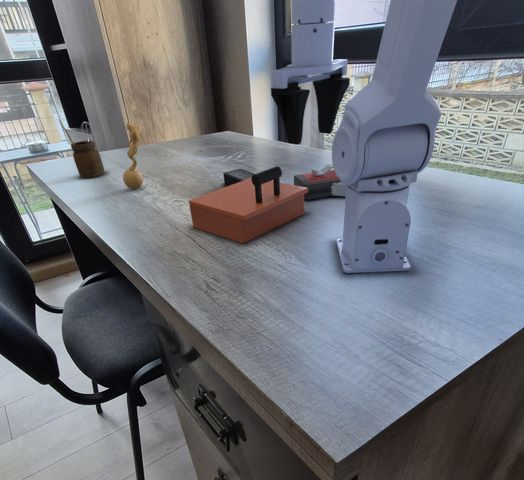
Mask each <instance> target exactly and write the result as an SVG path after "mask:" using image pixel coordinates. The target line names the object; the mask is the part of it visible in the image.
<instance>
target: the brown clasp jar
mask: <svg viewBox="0 0 524 480" xmlns="http://www.w3.org/2000/svg"><path fill="white" fill-rule="evenodd" d="M58 122H59V123H60V125H61V127H62V128H63V131H64V132H65V133H66V135H67V137H68V139H69V140H70V142H71V143H72V144H70V145H71V150H72V151H73V153H72V156H73V161H74V163H75V166H76V169H77V172H78V175H79V177H80V178H81V179H82V178H83V179H91V178H97V177H100V176H103V175H104V174H105V168H104V164H103V161H102V157H101V154H100V152H99V150H98V149H97V148H96V147H97V146H96V144H95V141H93V138H94V137H90V140H89V136H86V137H87V140H86V137H85V131H84V124H85V126H89V130H90V136H93V133H94V132H93V130H92V128H93V126H92V125H91V124H90V122H88V121H83V122H82V124H81V128H80V129H81V130H80V131H81V132H82V134H81V136H82V137H83V140H81V141H76V142H74V141H73V139H72V138H71V136H70V134H69V133H68V130H67V129H66V128H65V126H64V125H63V122H62V121H61V120H60V119H58ZM87 124H88V125H87ZM85 130H86V133H89V131H88V128H85Z"/></svg>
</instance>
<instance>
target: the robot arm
mask: <svg viewBox="0 0 524 480" xmlns="http://www.w3.org/2000/svg"><path fill="white" fill-rule="evenodd" d="M457 2H458V0H390V1H389V6H388V8H387V9H388V10H387V13H386V18H385V23H384V27H383V30H382V35H381V39H380V43H379V47H378V52H377V55H376V56H377V57H376V61H375V65H374V69H373V74H372V78H371V79H370V81H369V82H368V83H367V84H366V85H365V86H364V87H362V89H360V90H359V91H358V92H357V93H355V94H354V96H353V97H352V98H350V99H349V101H347V102H346V103H345V106H344V111H343V114H342V118H341V121H340V124H339V127H337V130H336V132H335V134H334V136H333V139H332V144H331V161H332V164H333V167H334V168H333V170H335V173H336V175H337V177H338V178H339V179H340V181H341V182H342V183H343V184H345V185H346V196H345V200H344V214H343V230H342V237H339V238H337V239H336V240H335V243H336V247H337V251H338V255H339V259H340V263H341V268H342V271H343V273H346V274H352V273H353V274H355V273H380V272H383V273H384V272H407V271H408V272H409V271H410V270H411V268H412V266H411V263H410V261H409V260H408V258H407V256H406V251H407V245H408V240H409V234H410V228H411V223H412V220H411V219H412V218H411V213H410V210H409V207H408V205H407V204H408V200H409V199H408V198H409V193H410V186H411V184H413V183H416V182H417V181H418V175H419V174H420V173H421V172H423V171H424V170H425V169H426V168H427V166H428V165H429V163H430V161H431V158H432V155H433V152H434V149H435V143H436V140H435V139H436V133H437V127H438V125H439V123H440V120H441V116H442V111H441V109H440V106H439V105H438V103H437V101H436V99H435V98H434V96H432V94H431V93H430V92H429V91H428V90H427V88H428V86H429V83H430V80H431V77H432V74H433V71H434V69H435V65H436V63H437V60H438V57H439V53H440V51H441V48H442V44H443V42H444V39H445V36H446V34H447V32H448V31H447V30H448V28H449V25H450V22H451V19H452V16H453V14H454V12H455V11H454V10H455V7H456V4H457ZM290 8H291V9H290V18H291V19H290V25H291V26H290V29H291V31H290V32H291V33H290V34H291V35H290V36H291V38H290V39H291V40H290V41H291V64H287V65H286V66H285V67H282V68H279V69H274V70H271V87H270V96H271V98H272V99H273V102H274V103H275V105H276V107H277V109H278V112H279V114H280V117H281V120H282V123H283V127H284V131H285V135H286V139H287V144H292V145H301V144H302V139H303V134H304V133H303V131H304V120H305V119H304V117H305V112H306V111H305V110H306V106H307V103H308V98H309V96H310V93H311V89H305V88H301V86H299V85H301V84H307V83H310V82H312V85H313V89H314V92H315V99H316V105H317V127H318V133H320V134H327V135H330V134H332V133H333V130H334V126H335V123H336V118H337V115H338V112H339V108H340V106H341V103H342V100H343V98H344V96H345V94H346V92H347V90H348V88H349V86H350V83H351V82H350V81H351V77H345V76H347V75H348V64H349V63H348V62H349V60H348V59H346V58H345V59H343V58H342V59H340V58H339V59H333V58H334V44H335V43H334V41H335V20H336V0H290ZM343 76H344V77H343Z"/></svg>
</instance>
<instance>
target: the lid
mask: <svg viewBox="0 0 524 480" xmlns="http://www.w3.org/2000/svg"><path fill="white" fill-rule="evenodd" d="M282 176H283V170H282V168H281V167H280V166H279V165H275V166H273V167H270V168H268V169H265V170H262V171H259V172H256V173H254V175H252V178H249V179H247V180H244V181H241V182H238V183H236V184H233V185H230V186H227V185H226V186H225V187H223V188H220V189H216V190H214V191H211V192H208V193H205V194H202V195H200V196H197V197H195V198H192V199H189V200H188V205H189V206H190V205H191V206H195V207H198V208H202V209H205V210H209V211H212V212H216V213H219V214H223V215H226V216H230V217H233V218H237V219H240V220H244V221H245V220H247V219H249V218H252V217H254V216H256V215H258V214H261V213H263V212H265V211H267V210H270V209H272V208H274V207H276V206H278V205H281V204H283V203H285V202H287V201H290V200H292V199H294V198H296V197H299V196H301V195H303V194H305V193H308V188H306V187H300V186H295V185H294V184H289V183H285V182H280V181H281V180H280V179H281V177H282Z"/></svg>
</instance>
